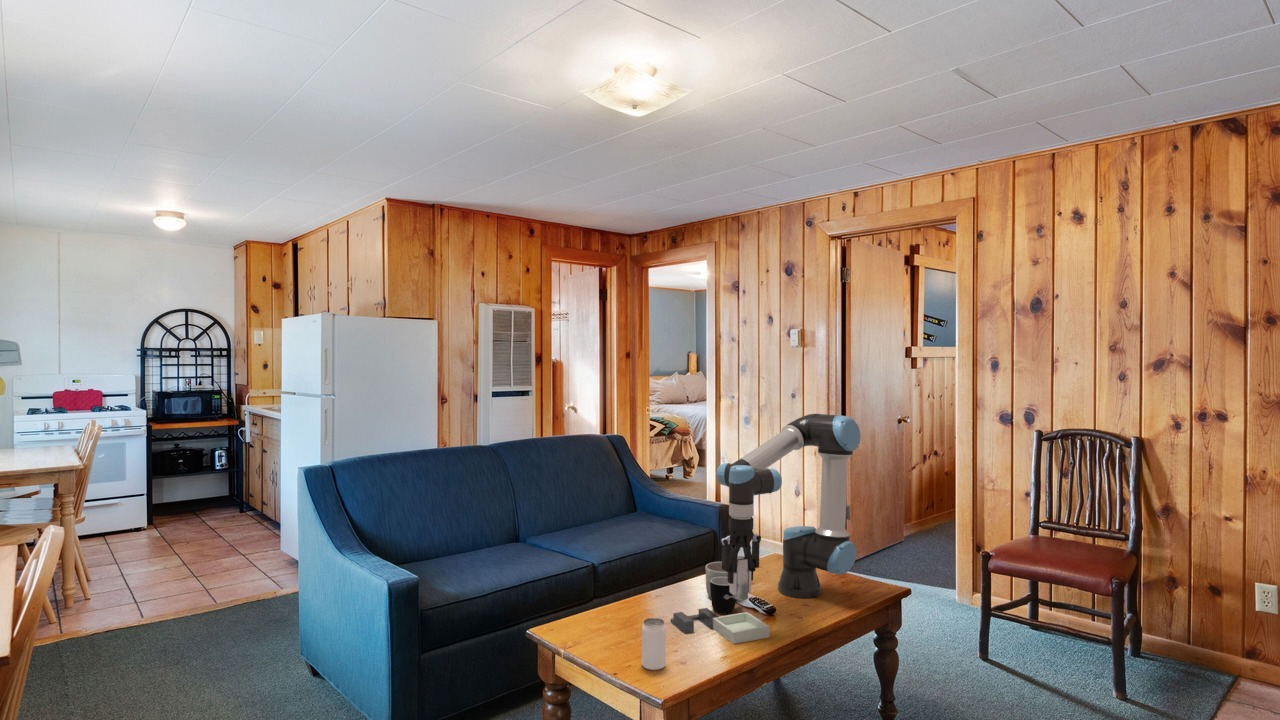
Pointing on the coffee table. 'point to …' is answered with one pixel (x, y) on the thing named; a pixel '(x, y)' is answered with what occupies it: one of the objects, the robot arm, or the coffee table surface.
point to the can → (653, 644)
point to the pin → (741, 578)
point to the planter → (714, 573)
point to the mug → (721, 595)
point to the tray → (740, 627)
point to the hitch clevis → (687, 622)
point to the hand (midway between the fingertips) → (740, 592)
